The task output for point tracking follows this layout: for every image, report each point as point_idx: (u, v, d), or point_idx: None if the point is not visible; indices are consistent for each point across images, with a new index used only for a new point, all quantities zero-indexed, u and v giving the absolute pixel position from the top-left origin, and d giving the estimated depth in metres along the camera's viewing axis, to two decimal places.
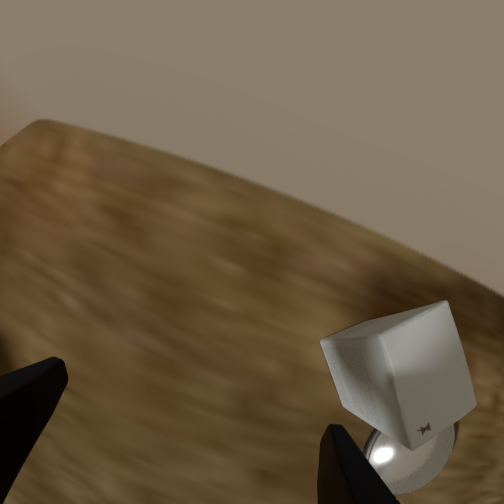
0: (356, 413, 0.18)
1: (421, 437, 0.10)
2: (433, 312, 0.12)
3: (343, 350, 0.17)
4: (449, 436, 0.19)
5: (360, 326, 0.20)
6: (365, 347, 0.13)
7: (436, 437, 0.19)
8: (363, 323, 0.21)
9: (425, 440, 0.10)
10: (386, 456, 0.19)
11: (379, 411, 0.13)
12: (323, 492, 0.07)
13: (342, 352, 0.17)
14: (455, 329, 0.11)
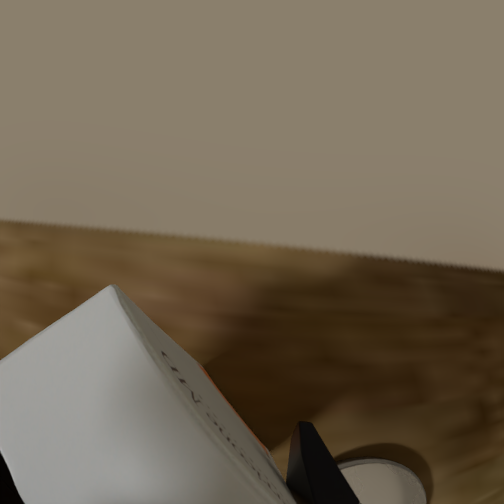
0: None
1: None
2: (68, 320, 0.04)
3: None
4: (413, 493, 0.11)
5: None
6: None
7: (388, 502, 0.11)
8: None
9: None
10: None
11: None
12: (290, 491, 0.07)
13: None
14: (146, 359, 0.04)
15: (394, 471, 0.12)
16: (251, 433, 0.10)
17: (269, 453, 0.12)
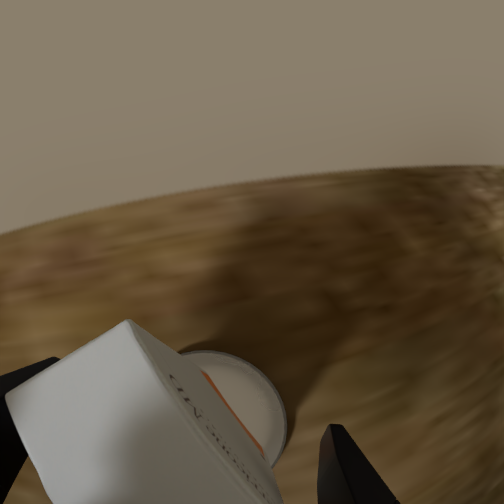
0: None
1: None
2: (90, 349, 0.05)
3: None
4: (254, 383, 0.16)
5: None
6: None
7: (228, 393, 0.16)
8: None
9: None
10: None
11: None
12: (323, 492, 0.07)
13: None
14: (158, 384, 0.05)
15: (223, 360, 0.17)
16: (248, 436, 0.11)
17: (265, 454, 0.13)
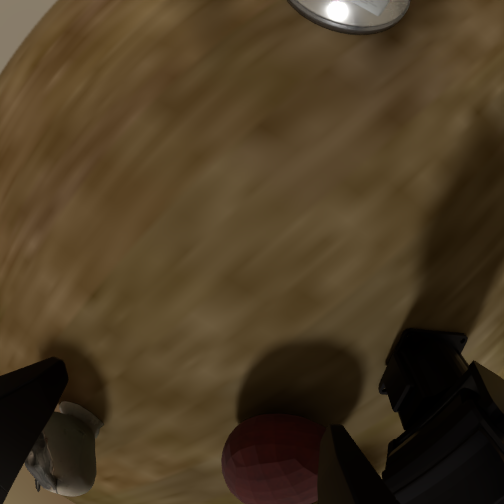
0: None
1: None
2: None
3: None
4: None
5: None
6: None
7: None
8: None
9: None
10: None
11: None
12: (323, 492, 0.07)
13: None
14: None
15: None
16: None
17: None
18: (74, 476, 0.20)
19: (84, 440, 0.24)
